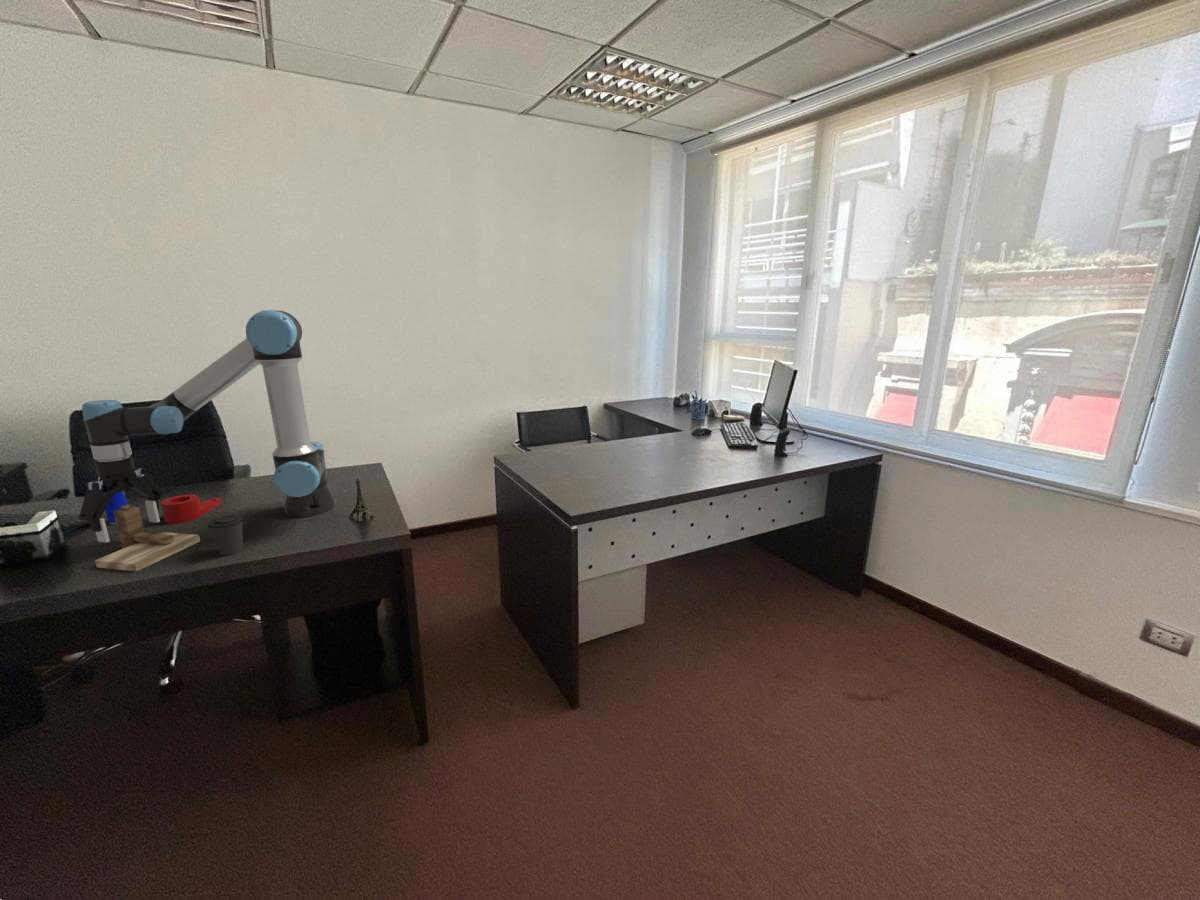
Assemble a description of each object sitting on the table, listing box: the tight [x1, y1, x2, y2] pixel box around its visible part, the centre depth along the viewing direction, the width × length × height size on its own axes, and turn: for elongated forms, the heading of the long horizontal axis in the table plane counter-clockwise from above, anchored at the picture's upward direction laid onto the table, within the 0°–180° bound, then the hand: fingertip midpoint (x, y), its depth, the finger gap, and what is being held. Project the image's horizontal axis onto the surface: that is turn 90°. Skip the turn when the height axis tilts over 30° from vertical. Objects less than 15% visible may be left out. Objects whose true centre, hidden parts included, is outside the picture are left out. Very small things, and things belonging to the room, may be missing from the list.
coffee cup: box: [207, 514, 245, 557], centre depth 138 cm, size 8×8×10 cm
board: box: [94, 531, 201, 572], centre depth 137 cm, size 12×18×2 cm, turn 172°
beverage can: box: [97, 476, 128, 525], centre depth 156 cm, size 5×5×15 cm
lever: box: [160, 494, 222, 525], centre depth 165 cm, size 18×9×7 cm, turn 172°
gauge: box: [113, 504, 174, 549], centre depth 139 cm, size 14×4×12 cm, turn 82°
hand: (130, 531), depth 140 cm, fingers open, 13 cm apart
